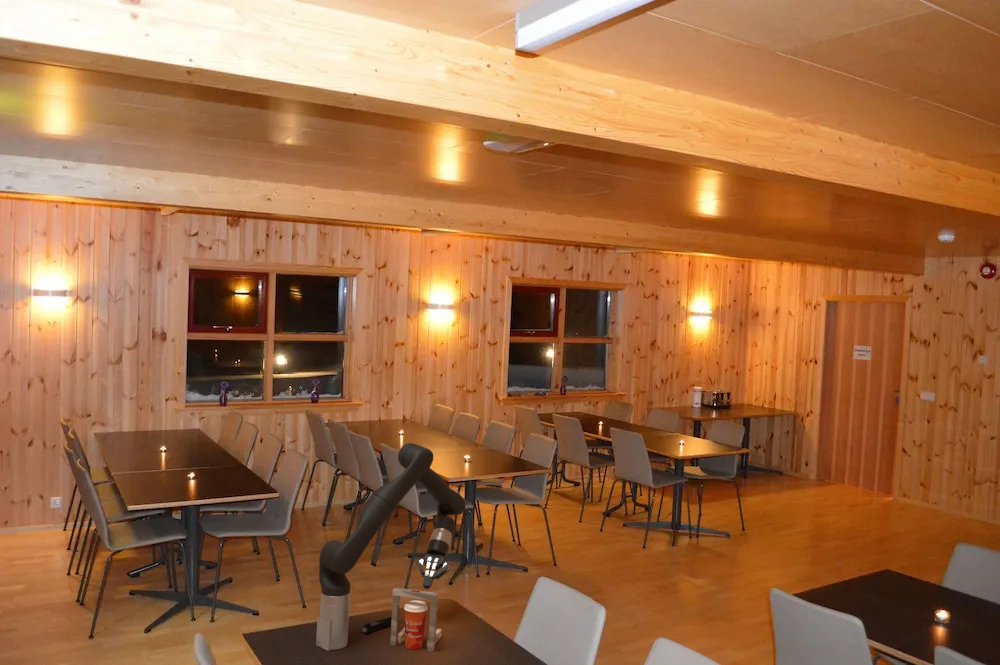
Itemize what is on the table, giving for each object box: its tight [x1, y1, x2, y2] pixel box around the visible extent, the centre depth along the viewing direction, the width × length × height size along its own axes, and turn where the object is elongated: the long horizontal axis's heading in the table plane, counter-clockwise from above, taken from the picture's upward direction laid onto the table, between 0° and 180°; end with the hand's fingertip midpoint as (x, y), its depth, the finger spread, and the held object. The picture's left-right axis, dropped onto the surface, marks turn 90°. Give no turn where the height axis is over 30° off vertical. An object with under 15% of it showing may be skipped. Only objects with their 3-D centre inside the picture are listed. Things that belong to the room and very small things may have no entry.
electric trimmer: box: [360, 615, 392, 635], centre depth 273 cm, size 4×16×3 cm, turn 140°
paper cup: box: [403, 599, 429, 651], centre depth 258 cm, size 8×8×14 cm
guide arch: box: [389, 587, 443, 652], centre depth 263 cm, size 13×15×19 cm
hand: (426, 587), depth 274 cm, fingers closed
